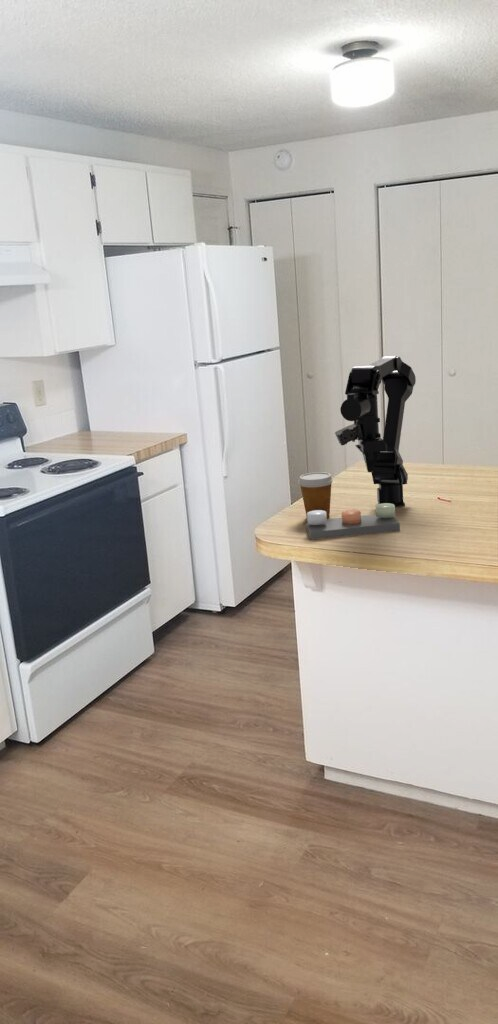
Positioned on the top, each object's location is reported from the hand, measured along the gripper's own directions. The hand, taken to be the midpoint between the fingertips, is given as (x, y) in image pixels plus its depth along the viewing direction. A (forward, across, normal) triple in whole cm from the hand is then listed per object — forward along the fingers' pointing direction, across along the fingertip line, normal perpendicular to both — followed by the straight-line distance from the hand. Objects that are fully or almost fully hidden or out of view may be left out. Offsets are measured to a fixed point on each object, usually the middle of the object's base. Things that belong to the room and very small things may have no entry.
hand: (369, 471), depth 221 cm
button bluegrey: (+10, +8, -16) cm, 20 cm away
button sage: (+10, +8, +2) cm, 13 cm away
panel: (+13, +8, -7) cm, 17 cm away
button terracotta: (+11, +8, -7) cm, 15 cm away
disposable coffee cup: (+13, -6, -14) cm, 20 cm away
